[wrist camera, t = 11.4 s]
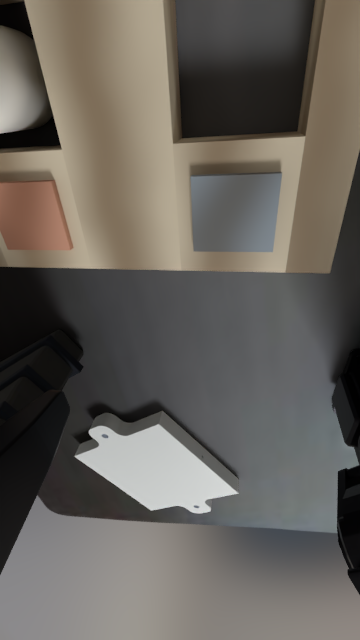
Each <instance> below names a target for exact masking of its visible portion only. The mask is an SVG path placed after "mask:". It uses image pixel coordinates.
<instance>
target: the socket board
mask: <svg viewBox="0 0 360 640" xmlns="http://www.w3.org/2000/svg"><path fill="white" fill-rule="evenodd" d="M23 1H25V5H26V9H27V13H28V17H29V21H30V25H31V29H32V33H33V37H34V41H35V45H36V49H37V53H38V57H39V61H40V65H41V69H42V73H43V77H44V81H45V85H46V88H47V92H48V96H49V100H50V104H51V108H52V112H53V116H54V120H55V124H56V128H57V132H58V136H59V140H60V144H61V145H56V146H39V147H22V148H5V149H0V267H40V268H89V269H138V270H188V271H237V272H286V273H330V271H331V266H332V262H333V258H334V254H335V250H336V246H337V242H338V237H339V233H340V229H341V225H342V221H343V217H344V213H345V208H346V204H347V200H348V196H349V192H350V188H351V184H352V179H353V175H354V171H355V167H356V163H357V159H358V154H359V150H360V0H315V4H314V12H313V19H312V27H311V34H310V42H309V49H308V57H307V64H306V71H305V79H304V86H303V94H302V101H301V109H300V116H299V124H298V131H296V132H279V133H262V134H245V135H228V136H211V137H194V138H182V125H181V106H180V86H179V67H178V48H177V28H176V9H175V0H0V5H4V4H10V3H17V2H23Z"/></svg>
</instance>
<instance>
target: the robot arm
mask: <svg viewBox="0 0 360 640" xmlns="http://www.w3.org/2000/svg"><path fill="white" fill-rule="evenodd" d="M359 355H360V349H355V350H353V351H352V352H351V353H350V355H349V358H348V361H347V364H346V367H345V370H344V373H342V374H341V375H340V376H339V378H338V381H337V384H336V387H335V390H334V393H333V396H332V400H333V405H332V408H333V411H334V413H336V414H337V417H338V421H339V424H340V428H341V431H342V435H343V438H344V442H345V443H346V444H347V445H348V446H351V447H354V449H355V452H356V455H357V458H358V462H359V465H358V466H356V467H353V468H350V469H347V468H345V469H343V470H340V471H338V508H337V531H338V542H339V545H340V548H341V550H342V553H343V556H344V558H345V560H346V563H347V565H348V567H349V569H348V576H349V578H350V579H351V581H352V583H353V584H354V586H355V588H356V589H357V591H358V592H359V594H360V357H356V356H359ZM69 413H70V406H69V404H68V401H67V399H66V397H65V394H64V392H63V391H61V390H49V391H47V392H45V393H44V394H43V395H41V396H40V397H39V398H37V399H36V400H34V401H33V402H32V403H30V404H29V405H27V406H26V407H25V408H23V409H22V410H20V411H19V412H18V413H16V414H15V415H14V416H12V417H11V418H9V419H8V420H7V421H5V422H4V423H2V424H1V425H0V574H1V572H2V570H3V568H4V566H5V563H6V561H7V559H8V557H9V555H10V552H11V550H12V548H13V546H14V544H15V542H16V540H17V537H18V535H19V533H20V530H21V529H22V527H23V524H24V522H25V520H26V518H27V516H28V514H29V511H30V509H31V507H32V505H33V503H34V500H35V498H36V496H37V494H38V492H39V490H40V488H41V485H42V483H43V481H44V479H45V477H46V475H47V472H48V470H49V468H50V466H51V464H52V461H53V459H54V456H55V454H56V451H57V448H58V445H59V442H60V439H61V437H62V434H63V431H64V428H65V425H66V422H67V419H68V416H69Z"/></svg>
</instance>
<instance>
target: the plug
mask: <svg viewBox="0 0 360 640" xmlns="http://www.w3.org/2000/svg"><path fill="white" fill-rule="evenodd" d="M52 115H53V112H52V108H51V104H50V100H49V96H48V92H47V88H46V85H45V81H44V77H43V73H42V69H41V65H40V61H39V57H38V53H37V49H36V45H35V41H34V40H32V39H31V38H30V37H29V36H27V35H26V34H24V33H22V32H21V31H18V30H15V29H12V28H9V27H5V26H2V25H0V134H1V133H8V132H15V131H21V130H28V129H35V128H39V127H41V126H43V125H45V124H46V123H47V122H48V121H49V120H50V119H51V117H52Z"/></svg>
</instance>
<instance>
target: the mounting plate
mask: <svg viewBox="0 0 360 640" xmlns="http://www.w3.org/2000/svg"><path fill="white" fill-rule="evenodd" d="M89 435H90V436H91V437H92V438H94V439H91V440H89V441H86V442H84V443H81V444H80V446H79V448H78V450H77V452H76V454H75V457H76V458H77V459H79V460H80V461H82V462H83V463H85V464H86V465H87V466H89V467H90V468H92V469H93V470H94V471H96V472H97V473H99V474H100V475H102V476H103V477H104V478H106V479H107V480H109V481H110V482H112V483H113V484H114V485H116V486H117V487H119V488H120V489H121V490H123V491H124V492H126V493H127V494H129V495H130V496H131V497H133V498H134V499H136V500H137V501H139V502H140V503H141V504H143V505H144V506H146V507H147V508H148V509H150V510H151V511H152V510H157V509H162V508H167V507H172V506H182V507H185V508H186V509H188V510H189V511H191V512H193V513H206V512H210V511H211V503H212V499H213V498H218V497H223V496H228V495H233V494H238V493H239V479H238V478H237V477H236V476H235V475H234V474H233V473H231V472H230V471H229V470H228V469H227V468H226V467H225V466H224V465H222V464H221V463H220V462H219V461H218V460H217V459H216V458H215V457H214V456H212V455H211V454H210V453H209V452H208V451H207V450H206V449H205V448H204V447H202V446H201V445H200V444H199V443H198V442H197V441H196V440H195V439H193V438H192V437H191V436H190V435H189V434H188V433H187V432H186V431H185V430H183V429H182V428H181V427H180V426H179V425H178V424H177V423H176V422H175V421H173V420H172V419H171V418H170V417H169V416H168V415H167V414H166V413H165V412H163V411H160V412H158V413H155V414H153V415H150V416H148V417H145V418H143V419H141V420H138V421H136V422H133V423H127V422H124V421H122V420H120V419H119V418H118V417H117V416H115V415H113V414H111V413H104V414H101V415H99V416H97V417H96V418H95V419H94V421H93V424H92V426H91V428H90V430H89Z"/></svg>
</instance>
